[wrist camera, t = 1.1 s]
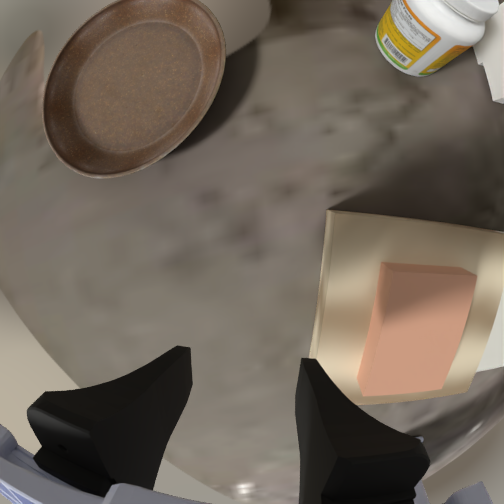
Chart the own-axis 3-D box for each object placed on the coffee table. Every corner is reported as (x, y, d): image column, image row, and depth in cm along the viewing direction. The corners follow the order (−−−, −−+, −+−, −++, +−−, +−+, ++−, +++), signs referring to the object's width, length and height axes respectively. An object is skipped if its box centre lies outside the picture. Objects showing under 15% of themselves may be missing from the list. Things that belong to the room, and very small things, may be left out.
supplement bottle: (435, 33, 14) (496, -23, 5) (438, 88, 15) (518, 43, 6) (373, 11, 15) (414, -66, 5) (372, 65, 16) (430, -9, 6)
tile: (430, 373, 17) (441, 389, 15) (356, 378, 17) (362, 396, 15) (460, 267, 15) (477, 275, 13) (381, 262, 16) (393, 271, 14)
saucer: (273, 101, 17) (271, 88, 15) (102, 217, 20) (82, 221, 17) (177, -19, 15) (167, -36, 13) (45, 85, 18) (26, 79, 15)
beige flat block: (452, 373, 20) (466, 391, 17) (305, 380, 21) (307, 405, 18) (490, 229, 17) (513, 235, 14) (326, 209, 18) (335, 213, 15)
